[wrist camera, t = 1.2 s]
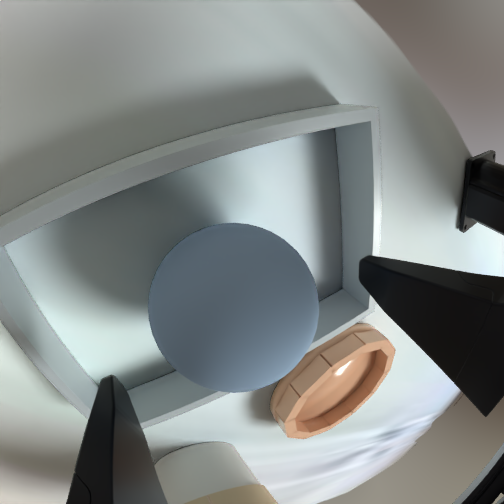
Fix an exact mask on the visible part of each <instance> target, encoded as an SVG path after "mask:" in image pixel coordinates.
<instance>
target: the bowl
mask: <svg viewBox="0 0 504 504" xmlns="http://www.w3.org/2000/svg"><path fill="white" fill-rule="evenodd" d="M394 354H395V348H394V347H393V345H392V344H391V343H390V341H389V340H388V339H387V338H386V337H385V336H384V335H382V334H381V333H380V332H379V331H378V330H376V329H375V328H374V327H373V326H371V325H369V324H365V323H358V324H354V325H353V326H351V327H349V328H348V329H346V330H345V331H343V332H341V333H340V334H338V335H336V336H335V337H333V338H332V339H330V340H328V341H327V342H325V343H323V344H321V345H320V346H318V347H316V348H315V349H313V350H311V351H309V352H308V353H306V354H305V355H304V357H303V358H302V359H301V361H300V362H299V363H298V364H297V365H296V366H295V368H294V369H293V370H291V371H290V372H289V373H288V374H287V375H285V376H284V377H283V378H281V380H280V381H279V383H278V384H277V386H276V388H275V390H274V392H273V394H272V397H271V401H270V411H271V413H272V415H273V417H274V418H275V419H276V421H277V422H278V423H279V426H280V427H281V429H282V430H283V432H284V433H285V434H286V436H287V437H289V438H298V439H306V438H309V437H312V436H314V435H317V434H320V433H323V432H325V431H328V430H329V429H331V428H333V427H334V426H336V425H337V424H339V423H340V422H342V421H343V420H345V419H346V418H348V417H349V416H351V415H352V414H353V413H354V412H356V411H357V410H358V409H359V408H360V407H361V406H362V405H363V404H364V403H365V402H366V401H367V400H368V399H369V398H370V397H371V396H372V395H373V394H374V392H376V390H377V389H378V387H379V386H380V384H381V383H382V381H383V380H384V378H385V377H386V375H387V374H388V372H389V371H390V369H391V365H392V362H393V358H394Z"/></svg>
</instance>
